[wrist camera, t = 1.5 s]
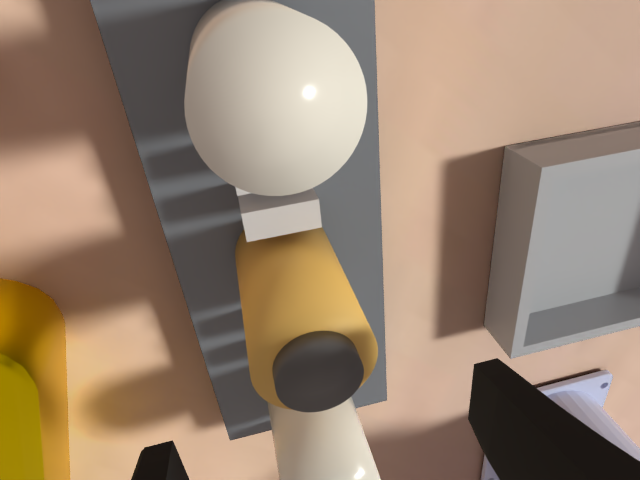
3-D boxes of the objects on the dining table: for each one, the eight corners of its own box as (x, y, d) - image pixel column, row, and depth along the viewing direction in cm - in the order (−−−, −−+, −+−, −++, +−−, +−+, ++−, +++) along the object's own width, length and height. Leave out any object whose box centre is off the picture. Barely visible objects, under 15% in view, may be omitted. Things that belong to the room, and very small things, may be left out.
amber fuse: (331, 279, 19) (386, 408, 13) (244, 298, 18) (264, 440, 13) (323, 201, 17) (383, 313, 12) (226, 220, 17) (239, 346, 11)
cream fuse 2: (343, 394, 23) (385, 517, 18) (271, 413, 22) (292, 544, 17) (338, 340, 21) (382, 460, 16) (258, 359, 20) (278, 489, 15)
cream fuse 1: (313, 110, 15) (370, 180, 10) (205, 127, 15) (207, 210, 10) (301, -13, 13) (362, -2, 8) (175, 2, 13) (161, 24, 8)
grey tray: (647, 285, 26) (687, 313, 24) (483, 325, 25) (510, 358, 23) (708, 108, 21) (766, 124, 19) (505, 145, 19) (541, 167, 17)
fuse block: (377, 380, 25) (405, 445, 22) (229, 417, 24) (234, 491, 20) (356, -75, 14) (405, -89, 11) (86, -46, 13) (47, -52, 10)
